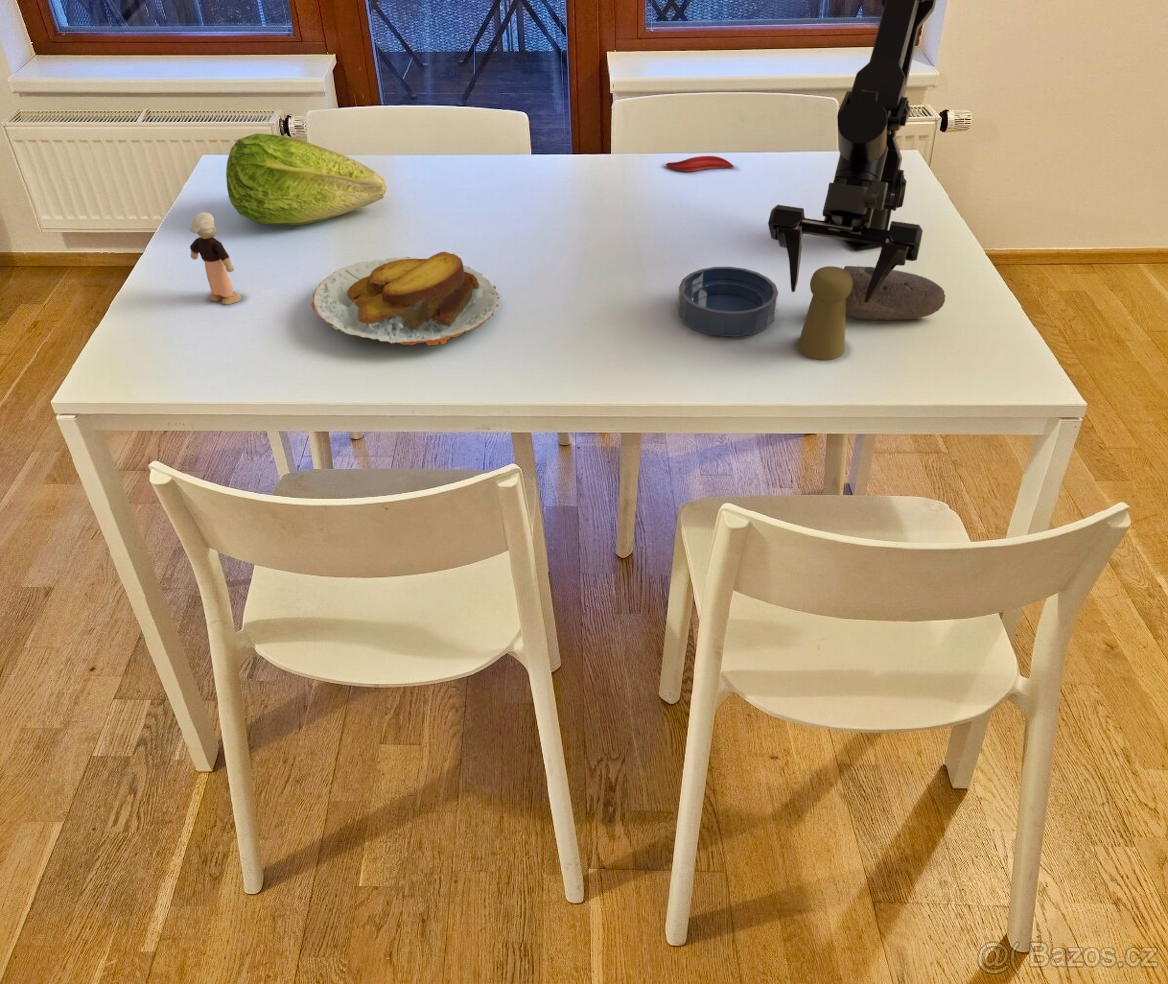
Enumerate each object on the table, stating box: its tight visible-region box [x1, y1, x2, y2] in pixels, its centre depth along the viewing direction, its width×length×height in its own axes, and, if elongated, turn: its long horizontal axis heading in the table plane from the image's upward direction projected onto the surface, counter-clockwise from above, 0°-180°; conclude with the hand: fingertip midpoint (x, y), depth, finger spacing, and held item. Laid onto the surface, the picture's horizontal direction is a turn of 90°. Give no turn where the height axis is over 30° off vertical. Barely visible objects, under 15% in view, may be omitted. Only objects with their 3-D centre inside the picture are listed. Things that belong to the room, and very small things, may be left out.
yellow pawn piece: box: [797, 266, 853, 361], centre depth 131 cm, size 6×6×11 cm
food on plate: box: [311, 251, 500, 346], centre depth 141 cm, size 25×25×7 cm
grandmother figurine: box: [189, 211, 242, 305], centre depth 142 cm, size 8×4×13 cm, turn 71°
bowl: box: [677, 266, 779, 337], centre depth 140 cm, size 13×13×4 cm
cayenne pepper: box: [665, 155, 735, 172], centre depth 181 cm, size 12×5×2 cm, turn 79°
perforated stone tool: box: [843, 265, 946, 321], centre depth 139 cm, size 15×5×7 cm, turn 83°
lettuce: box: [225, 133, 387, 226], centre depth 164 cm, size 15×24×14 cm, turn 98°
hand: (828, 297), depth 130 cm, fingers open, 9 cm apart
